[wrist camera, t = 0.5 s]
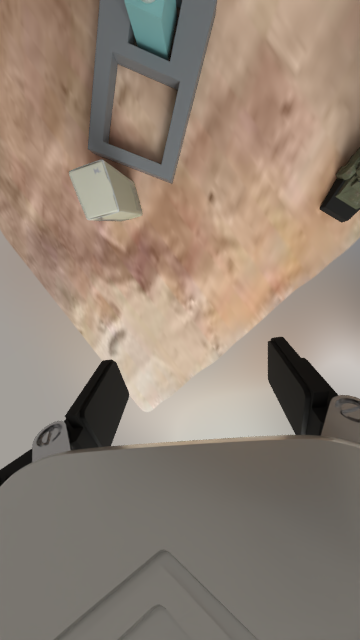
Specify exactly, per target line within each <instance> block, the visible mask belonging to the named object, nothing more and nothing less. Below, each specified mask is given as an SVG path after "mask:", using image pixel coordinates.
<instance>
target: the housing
mask: <svg viewBox="0 0 360 640" xmlns="http://www.w3.org/2000/svg"><path fill="white" fill-rule="evenodd" d="M216 5H217V0H176V6H177V7H179V8H181V9H180V14H179V19H178V24H177V29H176V34H175V39H174V44H173V49H172V54H171V59H170V61H167V60H165V59H163V58H161V57H158V56H156V55H154V54H152V53H149V52H147V51H145V50H143V49H140V48H138V47H136V46H134V39H135V36H134V32H133V29H132V25H131V22H130V19H129V15H128V12H127V9H126V5H125V2H124V0H100V5H99V18H98V30H97V42H96V54H95V67H94V79H93V91H92V104H91V116H90V128H89V141H88V149H89V150H90V151H91V152H93V153H94V154H96V155H99V156H101V157H104V158H107V159H109V160H112V161H114V162H117V163H120V164H122V165H125V166H127V167H130V168H133V169H135V170H138V171H140V172H143V173H145V174H148V175H151V176H153V177H156V178H158V179H161V180H164V181H166V182H169V183H171V184H172V183H173V179H174V176H175V172H176V168H177V164H178V160H179V156H180V152H181V148H182V144H183V140H184V136H185V132H186V128H187V124H188V120H189V116H190V113H191V109H192V105H193V101H194V97H195V93H196V89H197V85H198V81H199V77H200V73H201V69H202V65H203V61H204V57H205V53H206V50H207V46H208V42H209V38H210V34H211V30H212V26H213V22H214V18H215V14H216ZM118 64H119V65H121V66H124V67H126V68H128V69H131V70H133V71H135V72H138V73H140V74H142V75H144V76H147V77H149V78H151V79H154V80H156V81H158V82H161V83H163V84H165V85H167V86H170V87H172V88H174V89H177V90H178V93H177V97H176V102H175V106H174V111H173V115H172V120H171V124H170V129H169V133H168V137H167V142H166V146H165V151H164V155H163V160H162V164H158V163H156V162H153V161H151V160H148V159H146V158H143V157H141V156H138V155H136V154H133V153H131V152H128V151H125V150H123V149H120V148H118V147H115V146H113V145H110V144H108V142H109V133H110V125H111V116H112V108H113V99H114V91H115V82H116V74H117V65H118Z"/></svg>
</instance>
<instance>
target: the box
mask: <svg viewBox="0 0 360 640" xmlns="http://www.w3.org/2000/svg"><path fill="white" fill-rule="evenodd" d="M69 175H70V178H71V181H72V183H73V186H74V189H75V191H76V194H77V196H78V199H79V201H80V204H81V206H82V209H83V211H84V213H85V215H86V218H87V220H94V221H125V220H129V219H133V218H136V217H139V216H142V209H141V205H140V202H139V198H138V194H137V191H136V188H135V184H134V182H133V181H131V180H130V179H129V178H127V177H126V176H124V175H123V174H122V173H120V172H119V171H118V170H116V169H115V168H114V167H112V166H111V165H109V164H108V163H107V162H105V161H104V160H98V161H95V162H92V163H89V164H87V165H84V166H81V167H79V168H76V169H73V170H71V171H69Z"/></svg>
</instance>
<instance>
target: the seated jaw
mask: <svg viewBox="0 0 360 640" xmlns="http://www.w3.org/2000/svg"><path fill="white" fill-rule="evenodd" d="M124 2H125V5H126V9H127V12H128V15H129V19H130V22H131V25H132V29H133V32H134V36H135V39H136V42H137V46H138V48H140V49H143V50H145V51H147V52H149V53H152V54H154V55H156V56H158V57H161V58H163V59H165V60H167V61H168V60H169V55H170V50H171V45H172V40H173V35H174V30H175V25H176V20H177V11H176V0H124Z"/></svg>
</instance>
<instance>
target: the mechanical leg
mask: <svg viewBox="0 0 360 640" xmlns="http://www.w3.org/2000/svg"><path fill="white" fill-rule="evenodd" d="M336 176H337V178H338V179H336V181H335V182H334V184H333V186H332V188H331V189H330V191H329V193H328V195H327V196H326V198H325V200H324V201H323V203H322V205H321V207H320V210H322V211H323V212H325V213H327V214H328V215H330V216H332V217H333V218H335V219H337V220H338V221H340V222H345V221H347V220H349V219H350V218H351V217H352V216H353V215H354V214H355V213H357V212H358V211H359V210H360V148H359V149H358V151H357V152H356V153H355V154H354V155H353V156H352V157H351V158H350V160H349V161H348V163H347V165H346V166H343V167H341V168H340V170H339V171H338V173H337V174H336Z"/></svg>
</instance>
